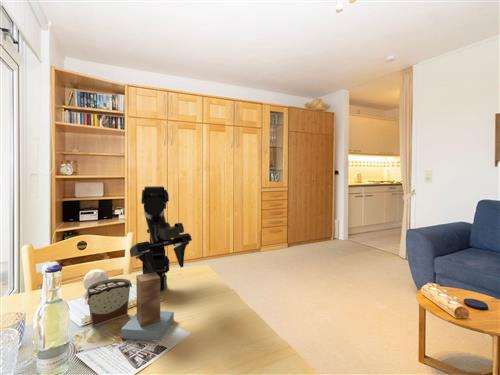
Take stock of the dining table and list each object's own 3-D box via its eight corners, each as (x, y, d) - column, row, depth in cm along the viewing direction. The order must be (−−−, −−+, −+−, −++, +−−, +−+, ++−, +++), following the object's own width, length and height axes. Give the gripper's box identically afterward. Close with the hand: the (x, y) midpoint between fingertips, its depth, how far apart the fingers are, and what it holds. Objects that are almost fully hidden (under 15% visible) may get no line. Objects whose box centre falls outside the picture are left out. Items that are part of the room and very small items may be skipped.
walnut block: (140, 327, 72) (140, 281, 71) (136, 318, 76) (136, 275, 75) (160, 321, 75) (160, 277, 74) (155, 313, 79) (155, 271, 78)
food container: (124, 305, 88) (124, 274, 88) (132, 312, 84) (132, 280, 83) (80, 319, 80) (79, 285, 79) (86, 328, 75) (85, 292, 75)
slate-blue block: (121, 340, 71) (121, 328, 71) (140, 319, 81) (140, 309, 81) (159, 343, 70) (159, 331, 70) (173, 321, 80) (173, 311, 80)
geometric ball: (92, 301, 97) (76, 288, 92) (93, 285, 103) (79, 272, 99) (112, 289, 98) (98, 275, 94) (112, 273, 105) (99, 260, 100)
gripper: (139, 218, 78) (153, 274, 74) (194, 211, 91) (207, 257, 88) (124, 230, 85) (135, 282, 81) (177, 222, 98) (189, 265, 95)
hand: (169, 271), depth 86 cm, fingers open, 9 cm apart
